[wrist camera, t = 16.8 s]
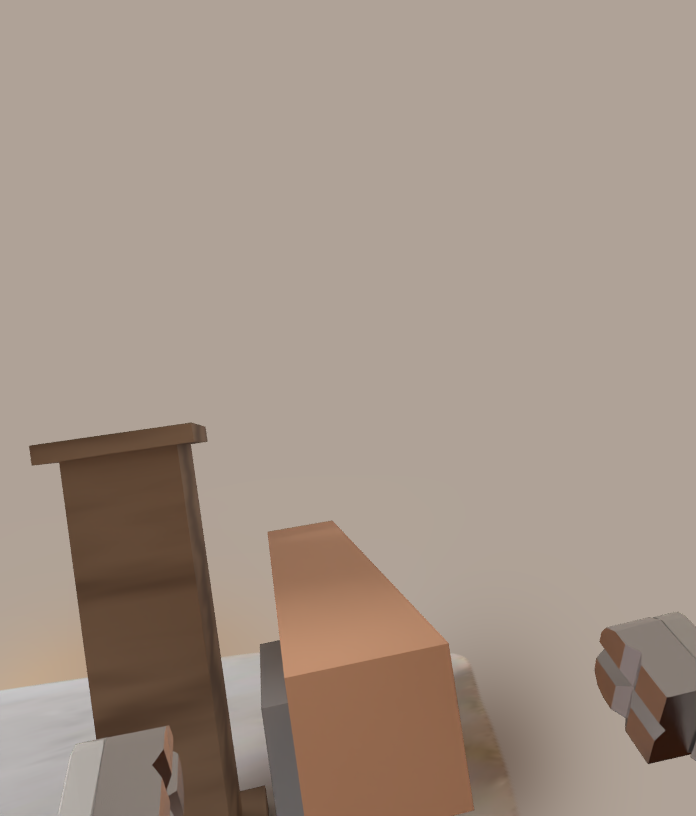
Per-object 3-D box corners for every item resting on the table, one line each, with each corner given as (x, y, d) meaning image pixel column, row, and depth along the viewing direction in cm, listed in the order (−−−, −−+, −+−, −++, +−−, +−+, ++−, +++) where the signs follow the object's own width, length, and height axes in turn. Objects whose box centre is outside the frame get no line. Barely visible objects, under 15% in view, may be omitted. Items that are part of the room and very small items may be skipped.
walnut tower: (272, 940, 30) (199, 420, 31) (82, 994, 29) (10, 447, 29) (268, 807, 41) (213, 426, 42) (130, 841, 39) (76, 445, 40)
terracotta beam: (474, 810, 15) (448, 643, 15) (309, 852, 14) (284, 677, 14) (341, 585, 37) (332, 520, 37) (277, 597, 37) (267, 531, 37)
